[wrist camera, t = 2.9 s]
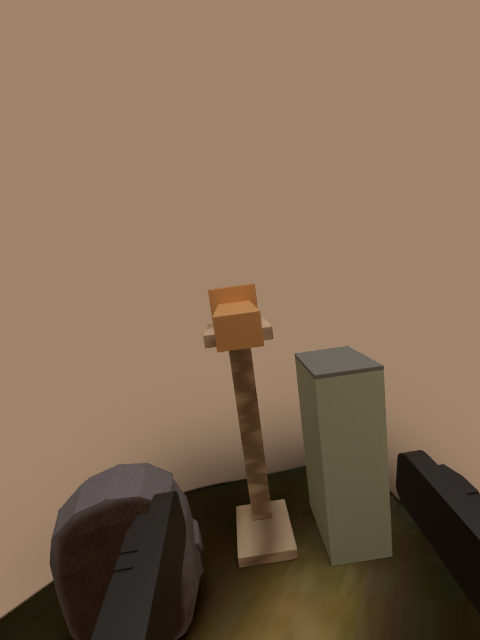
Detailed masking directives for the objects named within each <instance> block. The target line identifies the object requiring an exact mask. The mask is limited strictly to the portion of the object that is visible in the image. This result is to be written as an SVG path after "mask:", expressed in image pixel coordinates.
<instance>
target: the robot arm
mask: <svg viewBox="0 0 480 640" xmlns="http://www.w3.org/2000/svg"><path fill="white" fill-rule="evenodd" d="M396 489H397V493H398V496H399V498H400V500H401V502H402V504H403V506H404V507H405V509H406V510H407V511H408V513H409V514H410V516H411V517H412V519H413V520H414V521H415V523H416V524H417V526H418V527H419V529H420V530H421V532H422V533H423V534H424V536H425V537H426V539H427V540H428V542H429V543H430V544H431V546H432V547H433V549H434V550H435V552H436V553H437V554H438V556H439V557H440V559H441V560H442V562H443V563H444V565H445V566H446V567H447V569H448V570H449V572H450V573H451V575H452V576H453V577H454V579H455V580H456V582H457V583H458V585H459V586H460V587H461V589H462V590H463V592H464V593H465V595H466V596H467V598H468V599H469V600H470V602H471V603H472V605H473V606H474V608H475V609H476V610H477V612H478V613H479V615H480V494H479V492H478V490H477V489H476V488H475V487H474V486H472V485H471V484H470V483H469V482H468V481H467V480H466V479H465V478H464V477H463V476H462V475H460V474H458V473H457V472H455V471H454V470H452V469H450V468H449V467H447V466H446V465H444V464H443V465H437V464H436V463H435V462H434V461H433V460H432V458H430V456H429V455H427V454H426V453H425V452H424V451H422V450H418V451H412V452H405V453H400V454H399V455H398V458H397V475H396ZM185 545H186V523H185V518H184V515H183V511H182V507H181V503H180V499H179V495H178V492H177V491H176V490H175V491H169V492H163V493H157V494H154V496H153V498H152V501H151V505H150V508H149V512H148V514H142V515H138V516H137V518H136V519H135V521H134V522H133V524H132V525H131V527H130V528H129V530H128V531H127V533H126V536H125V539H124V542H123V545H122V548H121V551H120V556H119V557H118V560H117V563H116V566H115V569H114V574H113V575H112V578H111V581H110V584H109V587H108V590H107V593H106V596H105V599H104V602H103V605H102V608H101V611H100V614H99V617H98V620H97V623H96V626H95V629H94V632H93V635H92V638H91V640H174V636H175V627H176V619H177V611H178V603H179V594H180V586H181V578H182V570H183V562H184V553H185Z"/></svg>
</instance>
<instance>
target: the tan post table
mask: <svg viewBox="0 0 480 640" xmlns="http://www.w3.org/2000/svg"><path fill="white" fill-rule="evenodd" d="M261 323H262V332H263V340H270V339H273V332H272V326H271V325H270V324H269V323H268V322H267V321H266V320H265V319H264V318H263V317H261ZM203 337H204V345H205V348H212V347H216V340H215V333H214V327H213V324H209V325H208V327H207V329H206V331H205V333H204V335H203ZM229 355H230V362H231V369H232V375H233V383H234V390H235V396H236V404H237V410H238V419H239V425H240V432H241V440H242V446H243V453H244V461H245V468H246V475H247V482H248V489H249V496H250V503H251V504H249V505H243V506H236V516H237V547H238V562H239V568H242V567H248V566H255V565H261V564H267V563H274V562H280V561H286V560H293V559H298V552H297V546H296V543H295V539H294V535H293V531H292V527H291V523H290V519H289V515H288V511H287V507H286V503H285V499H282V500H276V501H270V495H269V487H268V479H267V471H266V464H265V456H264V449H263V440H262V433H261V425H260V418H259V409H258V401H257V394H256V386H255V378H254V370H253V362H252V354H251V348H245V349H238V350H231V351H229Z"/></svg>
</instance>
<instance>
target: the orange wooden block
mask: <svg viewBox="0 0 480 640" xmlns="http://www.w3.org/2000/svg"><path fill="white" fill-rule="evenodd" d="M208 293H209V299H210V306H211V312H212V320H213V327H214V333H215V340H216V347H217V352H224V351H231V350H238V349H245V348H253V347H260V346H264V340H263V332H262V323H261V315H260V311H259V310H258V307H257V299H256V291H255V284H247V285H238V286H231V287H223V288H216V289H210V290H208Z"/></svg>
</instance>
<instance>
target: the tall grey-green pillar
mask: <svg viewBox="0 0 480 640" xmlns="http://www.w3.org/2000/svg"><path fill="white" fill-rule="evenodd" d="M295 361H296V371H297V381H298V391H299V400H300V411H301V420H302V430H303V440H304V450H305V460H306V470H307V480H308V490H309V500H310V507H311V510H312V513H313V515H314V518H315V521H316V524H317V526H318V529H319V532H320V535H321V537H322V540H323V543H324V546H325V548H326V551H327V554H328V557H329V560H330V562H331V565H332V566H336V565H343V564H349V563H355V562H361V561H368V560H374V559H380V558H387V557H392V536H391V515H390V493H389V472H388V452H387V430H386V410H385V409H386V408H385V387H384V366H383V365H381V364H379V363H378V362H376V361H374V360H372V359H370V358H368V357H367V356H365V355H363V354H361V353H359V352H357V351H355V350H354V349H352V348H350V347H348V346H346V347H339V348H331V349H324V350H317V351H309V352H303V353H295Z"/></svg>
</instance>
